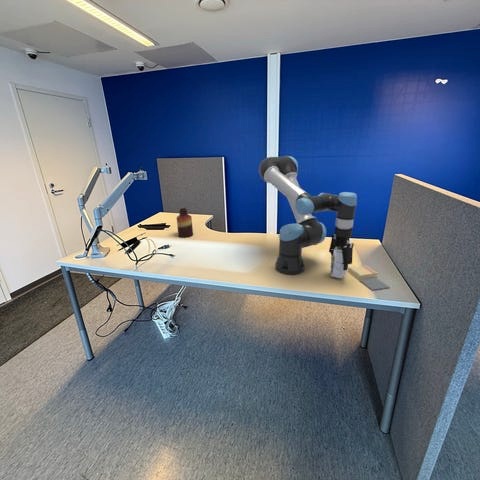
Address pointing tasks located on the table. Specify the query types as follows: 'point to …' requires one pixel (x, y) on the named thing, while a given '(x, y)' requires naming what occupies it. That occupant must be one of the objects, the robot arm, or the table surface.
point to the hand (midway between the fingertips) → (338, 271)
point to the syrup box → (337, 262)
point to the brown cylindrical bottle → (184, 224)
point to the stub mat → (374, 284)
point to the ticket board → (362, 272)
